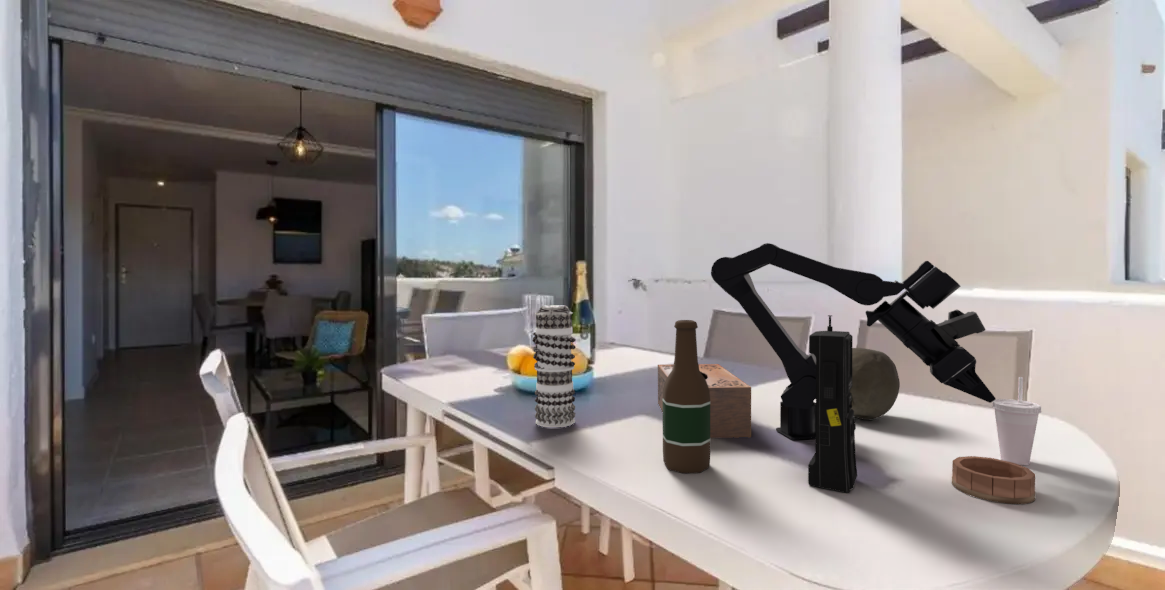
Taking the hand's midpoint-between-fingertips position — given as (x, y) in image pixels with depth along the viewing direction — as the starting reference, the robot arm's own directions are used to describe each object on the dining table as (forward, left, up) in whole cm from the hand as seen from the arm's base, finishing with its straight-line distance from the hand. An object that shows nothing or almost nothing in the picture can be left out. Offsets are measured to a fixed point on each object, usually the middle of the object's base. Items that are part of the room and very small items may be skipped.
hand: (987, 394), depth 90 cm
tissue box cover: (-39, +31, -11) cm, 51 cm away
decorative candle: (-70, +34, -11) cm, 79 cm away
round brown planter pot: (-11, -12, -11) cm, 19 cm away
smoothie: (+3, -2, -11) cm, 12 cm away
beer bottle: (-51, +5, -11) cm, 52 cm away
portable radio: (-32, -6, -11) cm, 34 cm away
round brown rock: (-4, +26, -11) cm, 29 cm away
